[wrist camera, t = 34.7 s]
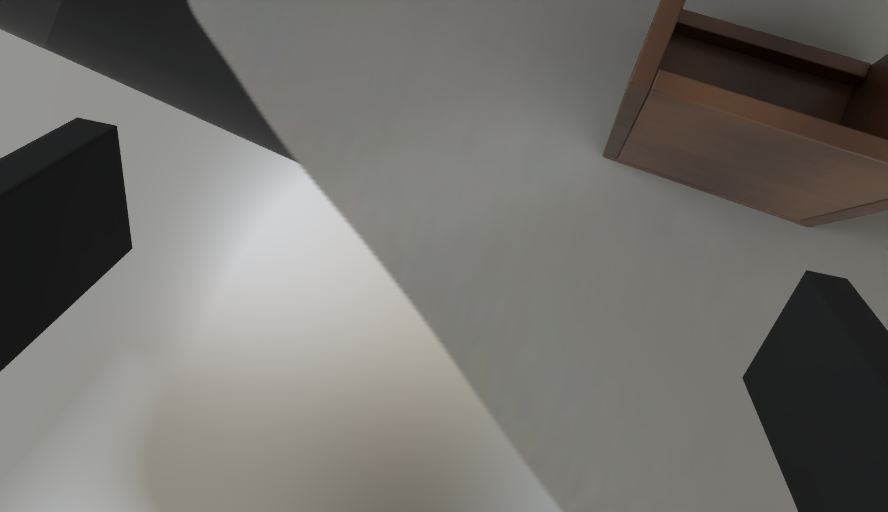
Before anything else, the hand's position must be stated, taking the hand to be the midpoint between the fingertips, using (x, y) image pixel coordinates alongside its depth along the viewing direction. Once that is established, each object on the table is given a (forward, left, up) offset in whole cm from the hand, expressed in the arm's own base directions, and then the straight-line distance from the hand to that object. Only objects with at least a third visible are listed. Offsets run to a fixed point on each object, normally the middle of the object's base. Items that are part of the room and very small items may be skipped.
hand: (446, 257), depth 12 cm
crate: (+6, +9, -15) cm, 19 cm away
